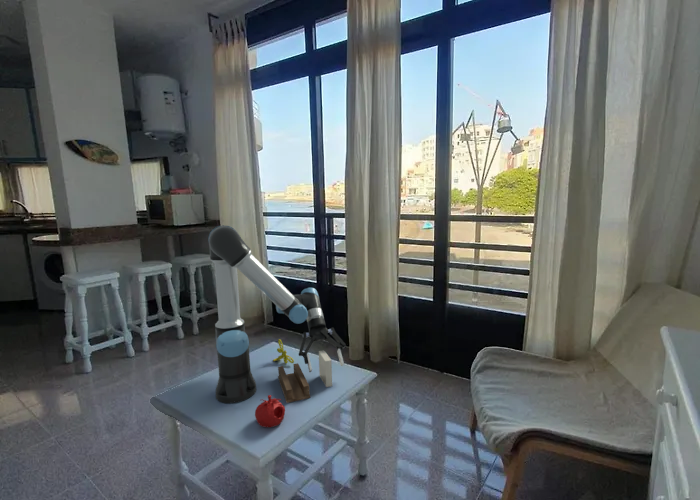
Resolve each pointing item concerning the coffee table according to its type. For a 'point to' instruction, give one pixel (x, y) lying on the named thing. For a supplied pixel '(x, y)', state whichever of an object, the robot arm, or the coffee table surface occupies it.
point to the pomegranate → (270, 412)
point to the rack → (293, 384)
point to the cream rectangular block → (325, 368)
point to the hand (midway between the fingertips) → (326, 368)
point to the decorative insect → (283, 354)
